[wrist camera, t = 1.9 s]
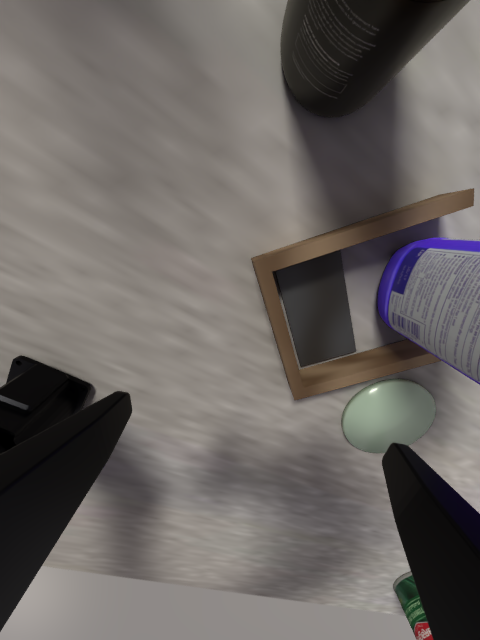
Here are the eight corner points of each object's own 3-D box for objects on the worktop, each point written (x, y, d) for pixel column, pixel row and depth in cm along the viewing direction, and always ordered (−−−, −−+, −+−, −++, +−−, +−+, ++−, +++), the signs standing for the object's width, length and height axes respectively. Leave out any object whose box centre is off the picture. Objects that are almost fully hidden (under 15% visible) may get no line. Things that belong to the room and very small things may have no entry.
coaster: (387, 458, 26) (390, 463, 25) (323, 428, 24) (325, 433, 23) (450, 402, 23) (455, 406, 22) (383, 363, 21) (388, 367, 21)
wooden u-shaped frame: (288, 382, 22) (294, 400, 19) (251, 258, 18) (253, 262, 15) (440, 339, 20) (467, 353, 18) (439, 194, 16) (474, 188, 14)
